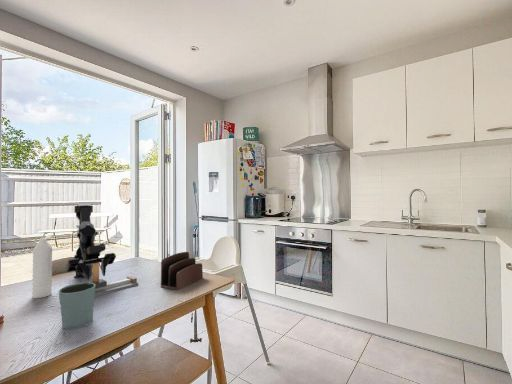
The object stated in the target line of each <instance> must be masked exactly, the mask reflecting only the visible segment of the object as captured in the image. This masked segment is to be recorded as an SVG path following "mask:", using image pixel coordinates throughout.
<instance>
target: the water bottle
mask: <svg viewBox="0 0 512 384" xmlns="http://www.w3.org/2000/svg"><path fill="white" fill-rule="evenodd" d="M49 239H53V236H52V235H48V236H45V237H40V238H39V240H38V242H37V244H36V245H35V246H34V247H33V250H32V279H31V280H32V284H31V285H32V287H31V288H32V291H31V294H32V298H33V299H40V298H41V299H43V298H46V297H49V296H50V295H52V293H53V292H52V290H53V289H52V287H53V284H52V283H53V279H52V278H53V247H52V246H51V244H50V243H49V242H48V241H47V240H49Z"/></svg>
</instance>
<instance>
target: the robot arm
mask: <svg viewBox="0 0 512 384" xmlns="http://www.w3.org/2000/svg"><path fill="white" fill-rule="evenodd" d="M93 212H94V206H93V205H91V204H89V203H87V204H85V203H84V204H77V205H74V213H75V217H76V218H77V220H78V223H79V224H78V229H77V230H76V238H78V240H79V242H78V245H79V246H78V248H77V249H76V251H75V254H74V258H72V259H68V261H67V263H66V267H65V270H66V272H67V273H70V272H75V276H73V278H74V279H76V278H85V279H87V281H89V280H90V276H92V264H93V263H99V264H100V265H99V269H100V271H101V274H102V276H103V277H105V276H106V273H107V267H108V265H111V264H114V262H115V260H116V258H117V255H116V253H114V252H110V253H105V254H104V256H103V257H100V256H101V253H102V252H104V251H106V244H105V243H100V244H98V245H97V244H95V239H96V236H97V235H98V234H99V233H98V231H97V229H96V228H95V225H94V224H93V223H92V222H91V215H92V213H93Z"/></svg>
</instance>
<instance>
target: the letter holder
mask: <svg viewBox="0 0 512 384" xmlns="http://www.w3.org/2000/svg"><path fill="white" fill-rule="evenodd" d="M160 264H161V265H160V274H161V275H160V287H161V288H163V289H169V290H174V291H178V290H181V289H182V288H184V287H186V285H187V286H188V284H189V285H191V284H193V283H195V282H196V281H199V280H200V279H203V276H204V275H203V263H200V262H199V263H198V262H197V261H196V258H195V257H191V258H190V252H188V251H184V252H183V251H182V252H178V253H173V254H171V255H169V256H166V257H164V258H163V259H161V263H160ZM194 281H195V282H194ZM192 282H193V283H192ZM190 283H191V284H190Z"/></svg>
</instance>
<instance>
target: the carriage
mask: <svg viewBox="0 0 512 384" xmlns="http://www.w3.org/2000/svg"><path fill="white" fill-rule="evenodd" d="M91 266H92V274H91V277H92V279H91V280H90V281H89V280H88V281H85V282H84V283H94V284H95V289H96V288H100V287H104V286H107V284H108V282H107V280H106V279H103V278H100V262H99V263H93V264H91Z"/></svg>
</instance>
